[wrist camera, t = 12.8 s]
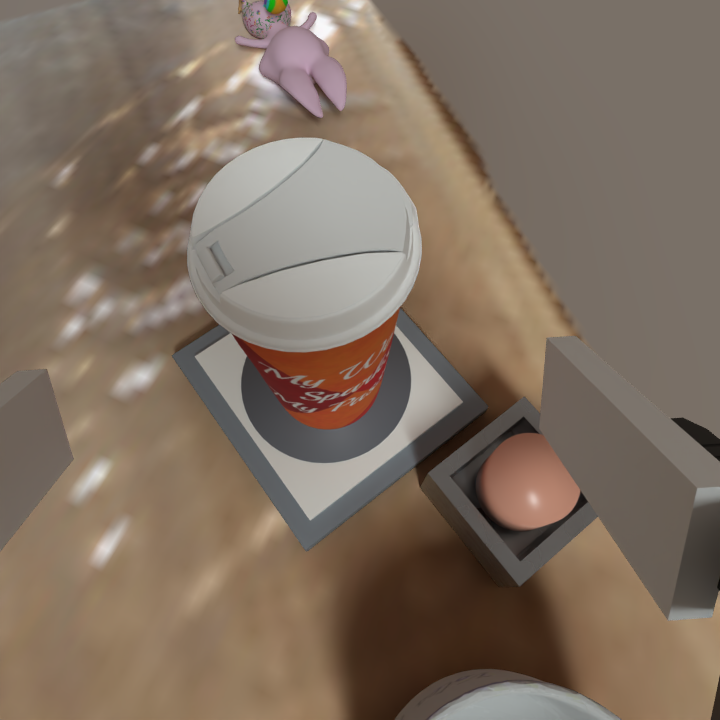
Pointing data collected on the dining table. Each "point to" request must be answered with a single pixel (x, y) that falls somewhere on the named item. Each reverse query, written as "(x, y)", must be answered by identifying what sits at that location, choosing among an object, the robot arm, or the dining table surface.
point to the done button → (525, 484)
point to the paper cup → (307, 270)
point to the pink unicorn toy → (293, 54)
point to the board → (335, 446)
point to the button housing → (478, 532)
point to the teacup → (500, 699)
